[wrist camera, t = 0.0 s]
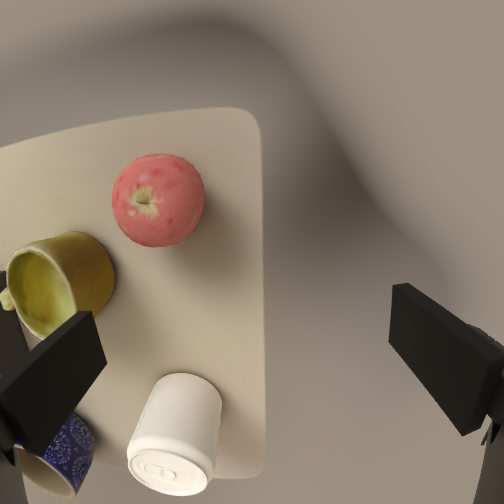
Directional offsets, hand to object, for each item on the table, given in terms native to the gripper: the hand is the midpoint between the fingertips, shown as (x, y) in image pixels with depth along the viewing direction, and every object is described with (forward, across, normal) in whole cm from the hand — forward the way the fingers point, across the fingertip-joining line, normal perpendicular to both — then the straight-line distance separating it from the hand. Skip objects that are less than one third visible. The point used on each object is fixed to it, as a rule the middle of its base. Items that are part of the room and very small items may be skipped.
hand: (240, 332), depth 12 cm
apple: (+17, -6, +5) cm, 19 cm away
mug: (+17, -19, -1) cm, 26 cm away
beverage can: (+17, -8, -17) cm, 25 cm away
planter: (+17, -28, -24) cm, 41 cm away
